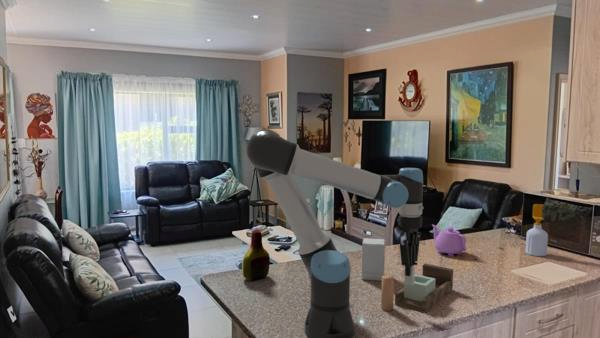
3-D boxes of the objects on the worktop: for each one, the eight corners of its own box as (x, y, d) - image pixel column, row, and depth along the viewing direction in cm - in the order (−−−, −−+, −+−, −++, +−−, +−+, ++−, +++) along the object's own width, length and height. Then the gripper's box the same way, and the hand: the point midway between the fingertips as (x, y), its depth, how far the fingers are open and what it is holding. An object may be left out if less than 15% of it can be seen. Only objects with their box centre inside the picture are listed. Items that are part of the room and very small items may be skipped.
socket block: (425, 302, 154) (425, 285, 153) (403, 297, 159) (404, 280, 158) (434, 294, 161) (435, 278, 160) (414, 289, 166) (414, 274, 165)
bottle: (266, 273, 188) (266, 226, 186) (273, 278, 182) (273, 229, 180) (239, 278, 182) (239, 229, 180) (245, 283, 176) (245, 233, 174)
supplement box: (383, 281, 179) (384, 244, 178) (361, 279, 181) (361, 243, 180) (384, 274, 188) (385, 238, 187) (362, 272, 190) (363, 237, 188)
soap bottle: (527, 255, 215) (530, 204, 212) (524, 250, 224) (526, 201, 221) (548, 257, 212) (551, 205, 210) (544, 252, 221) (547, 202, 218)
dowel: (389, 312, 151) (390, 280, 149) (378, 309, 153) (379, 277, 152) (395, 308, 154) (396, 276, 153) (384, 305, 156) (385, 274, 155)
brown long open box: (425, 312, 150) (426, 289, 149) (394, 304, 157) (395, 282, 156) (452, 289, 171) (453, 269, 170) (424, 283, 177) (425, 263, 177)
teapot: (421, 250, 223) (422, 225, 222) (440, 245, 231) (441, 221, 230) (456, 260, 207) (457, 233, 205) (475, 255, 215) (476, 229, 214)
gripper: (412, 220, 141) (411, 292, 144) (429, 213, 151) (427, 281, 154) (391, 217, 146) (390, 287, 148) (408, 210, 156) (407, 276, 159)
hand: (409, 284), depth 151 cm, fingers closed
